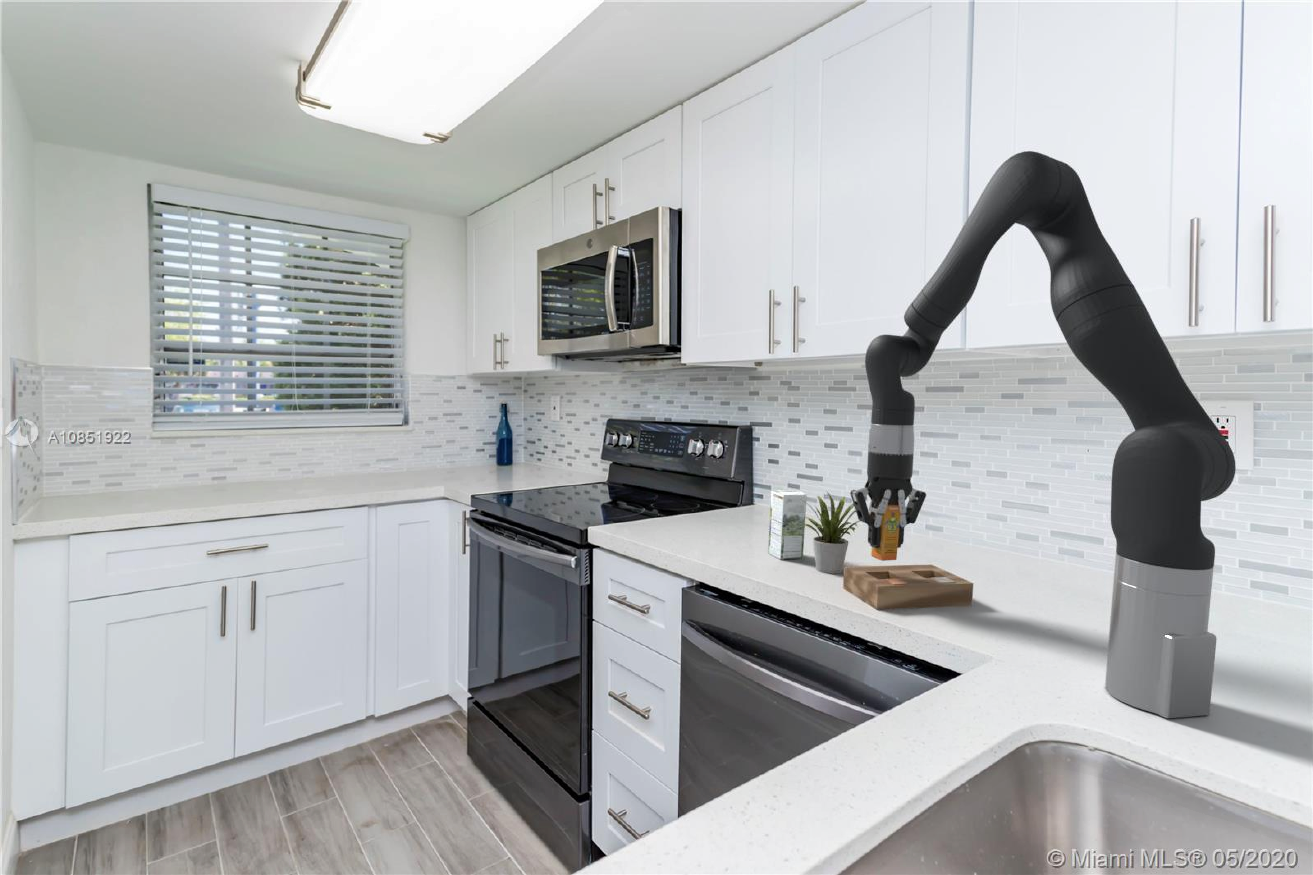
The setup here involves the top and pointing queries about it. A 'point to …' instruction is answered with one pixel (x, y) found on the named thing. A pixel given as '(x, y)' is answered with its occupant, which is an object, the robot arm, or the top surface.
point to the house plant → (831, 537)
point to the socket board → (907, 586)
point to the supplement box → (888, 534)
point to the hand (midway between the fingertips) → (885, 546)
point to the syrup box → (787, 524)
